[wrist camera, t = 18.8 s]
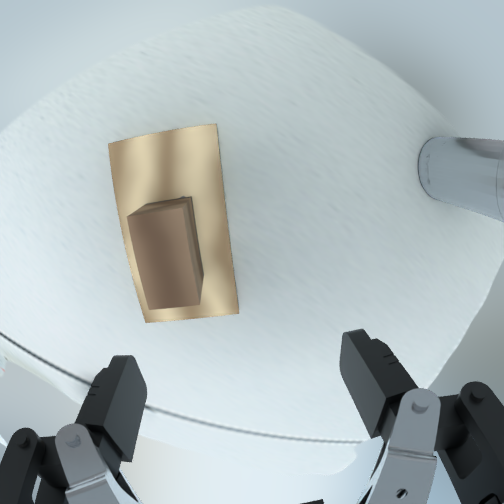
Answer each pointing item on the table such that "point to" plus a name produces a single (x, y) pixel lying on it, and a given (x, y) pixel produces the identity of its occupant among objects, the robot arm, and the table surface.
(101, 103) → the table surface
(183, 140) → the pine board
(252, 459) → the table surface
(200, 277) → the block
